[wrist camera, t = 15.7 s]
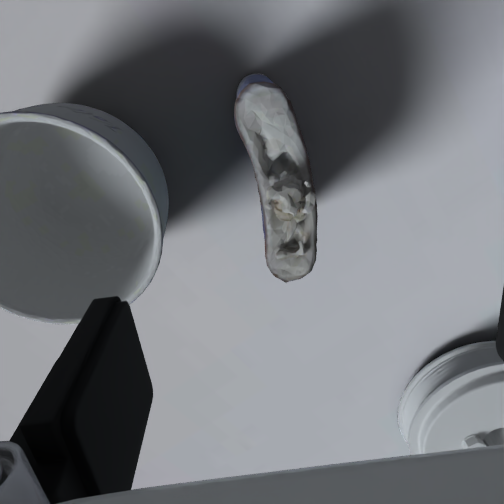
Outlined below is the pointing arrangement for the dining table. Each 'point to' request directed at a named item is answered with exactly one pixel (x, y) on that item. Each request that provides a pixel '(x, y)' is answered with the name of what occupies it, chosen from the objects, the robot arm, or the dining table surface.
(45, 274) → the teacup
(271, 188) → the dark blue piece
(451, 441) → the lid
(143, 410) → the robot arm
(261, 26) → the dining table surface
